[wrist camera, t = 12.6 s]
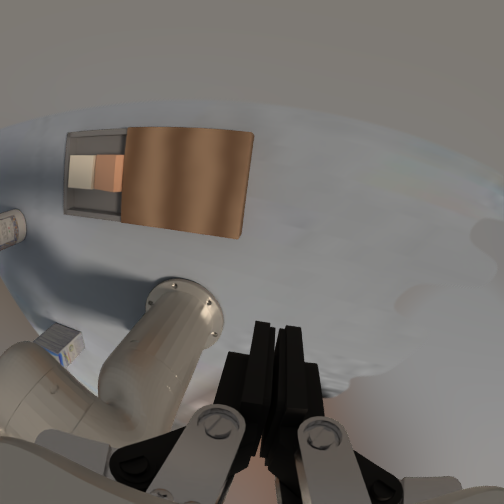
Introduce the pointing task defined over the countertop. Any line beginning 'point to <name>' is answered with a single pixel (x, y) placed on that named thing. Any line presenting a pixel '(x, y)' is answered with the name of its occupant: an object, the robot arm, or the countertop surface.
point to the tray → (93, 200)
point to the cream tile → (82, 171)
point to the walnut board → (186, 179)
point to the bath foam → (11, 228)
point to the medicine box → (61, 343)
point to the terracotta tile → (109, 172)
